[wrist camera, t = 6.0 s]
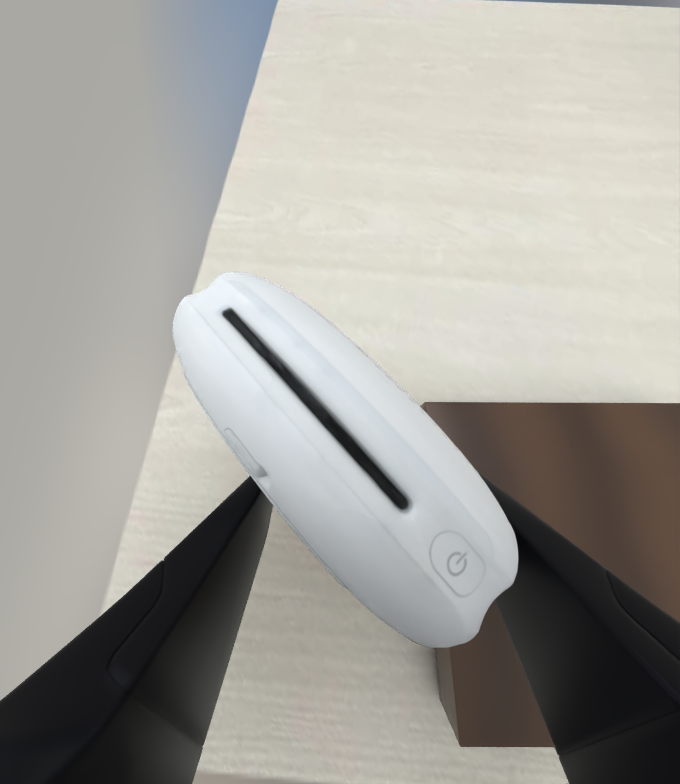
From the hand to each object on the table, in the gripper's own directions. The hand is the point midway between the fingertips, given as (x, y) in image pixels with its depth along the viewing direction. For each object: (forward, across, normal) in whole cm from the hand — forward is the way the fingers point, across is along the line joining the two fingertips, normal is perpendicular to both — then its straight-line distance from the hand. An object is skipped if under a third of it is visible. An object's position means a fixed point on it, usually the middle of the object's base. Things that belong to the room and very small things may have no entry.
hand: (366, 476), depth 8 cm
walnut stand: (+3, -13, +8) cm, 15 cm away
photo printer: (+7, +1, +5) cm, 8 cm away
